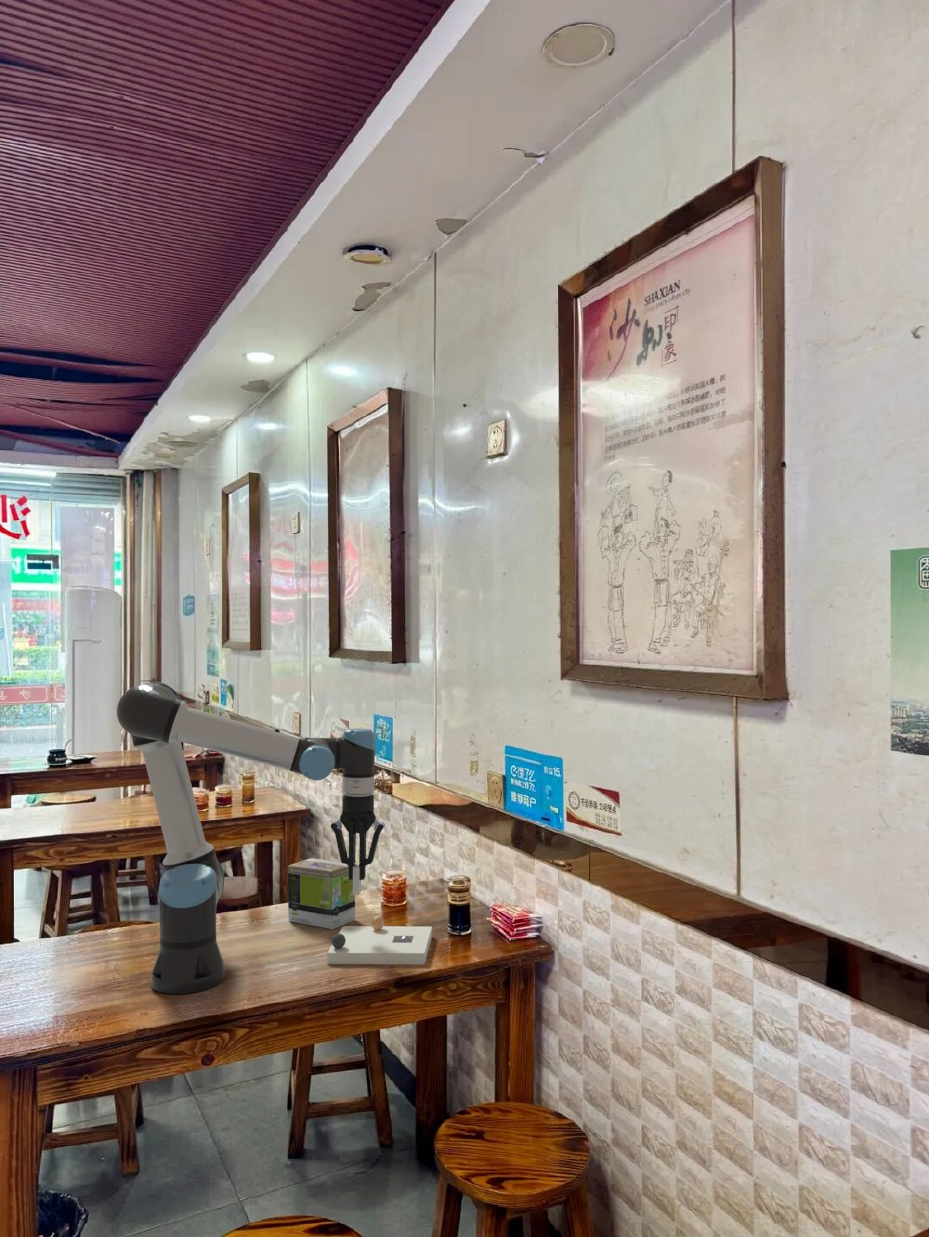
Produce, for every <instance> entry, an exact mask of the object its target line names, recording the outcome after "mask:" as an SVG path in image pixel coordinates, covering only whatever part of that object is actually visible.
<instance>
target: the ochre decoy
mask: <svg viewBox="0 0 929 1237" xmlns="http://www.w3.org/2000/svg"><path fill="white" fill-rule="evenodd" d="M384 920H385V919H384V918H383V917H382V916H380V915H379V916H378V915H377V916H373V918H372V919H371V922H370V926H372V928H373V929H375V930H380V929H382V928H383V926H385V921H384Z"/></svg>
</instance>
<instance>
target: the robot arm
mask: <svg viewBox="0 0 929 1237" xmlns="http://www.w3.org/2000/svg"><path fill="white" fill-rule="evenodd" d="M116 717H117V720H118V722H119V725H120V727H121V728H123V730H124V731H125V732H127V733H129V734H130V736H131V741H132V744H133V748H134V749H136V750H138V751H140V752H141V753H142V755H143V759H144V763H145V764H144V765H145V768H146V772H147V775H148V780H149V783H150V788H151V791H152V796H153V799H154V804H155V807H156V811H157V815H158V820H159V824H160V828H161V832H162V836H163V840H164V844H165V847H166V856H165V857H164V859H163V860H162V865H163V868H164V873H163V874H162V876H161V877H160V880H159V886H158V898H159V950H158V953H157V956H156V959H155V962H154V964H153V968H152V972H151V976H150V977H151V985H150V986H151V988H152V989H153V990H155V991H156V992H159V993H162V994H168V995H169V994H170V995H183V994H191V993H197V992H200V991H201V992H202V991H205V990H208V989H211V988H213V987H216V986H217V985H218V984H220V983H222V981H224V979H225V977H226V966H225V965H226V964H225V961H224V959H223V955H222V952H221V950H220V947H219V945H218V942H217V905H218V902H219V899H220V897H221V895H222V893H223V890H224V887H225V873H224V869H223V867H222V865H221V864H220V863H219V861H218V858H217V854H216V851H215V847H214V845H213V844H211V843H209V842H207V841H206V838H205V834H204V830H203V826H202V823H201V818H200V814H199V810H198V806H197V801H196V798H195V794H194V790H193V786H192V782H191V779H190V778H191V777H190V774H189V769H188V766H187V763H186V762H187V761H186V758H185V753H184V749H183V746H182V745H183V744H184V743H185V744H187V745H192V746H196V747H200V748H203V749H206V750H211V751H214V752H218V753H222V754H225V755H229V756H233V757H237V758H240V759H244V760H246V761H251V762H256V763H258V764H263V765H267V766H270V767H274V768H277V769H281V770H285V771H288V772H292V773H293V774H294V773H295V774H298V775H302V776H304V777H305V778H306V779H309V780H311V781H322V780H324V779H326V778H327V777H329V776H330V775H331V773H332V772H333V770H342V793H343V794H342V799H341V800H342V804H341V806H342V808H341V811H342V812H341V814H340V816H339V819H338V820H335V821H333V822H332V823H330V829H331V830H332V831H333V833H334V836H335V840H336V846H337V851H338V855H339V859H340V862H341V863H343V864H347V865H348V866H349V880H353V895H355V896H360V894H361V892H362V881H364V880H365V878H366V871H367V870H366V869H367V868H366V867H367V865H371V864H372V863H373V861H374V860H375V855H376V851H377V847H378V843H379V839H380V836H381V832H382V831H383V829H384V828H385V826H386V824H385V823H384V822H381V821H379V820H378V819H377V816H376V815H375V812H374V811H375V795H374V794H373V793H374V792H375V760H376V759H375V754H376V748H375V745H376V744H375V732H374V731H373V730H372V729H370V728H346V729H344V731H343V735H342V736H340V737H296V736H293V735H288V734H286V733H282V732H278V731H275V730H271V729H268V728H264V727H262V726H261V727H260V726H258V725H257V726H256V725H253V724H250V723H247V722H243V721H239V720H235V719H231V718H228V717H225V716H221V715H217V714H214V713H210V712H207V711H203V710H200V709H197V708H192V707H189V706H188V704H187V702H186V701H185V700H183V699H181V697H180V696H179V694H178V693H177V691H176V690H175V689H174V688H172V687H171V686H170V685H168V684H166V683H163V682H160V681H159V682H158V681H152V682H151V681H149V682H145V683H141V684H138V685H135V686H132V687H131V688H129V689H127V690H126V691H125V692H124V693H123V694H122V695H121V697H120V699H119V701H118V702H117V706H116ZM182 743H183V744H182ZM372 826H373V831H374V832H373V835H372V838H371V843H370V847H369V851H368V854H367V834H368V831H369V830H370V829H371V827H372ZM343 827H344V829H346V831H347V832H348V851H347V848H346V842H345V839H344V838H345V837H344V832H343V830H342V828H343ZM357 834H358V838H359V843H358V844H359V846H358V848H359V850H358V852H359V853H358V854H359V856H358V858H359V859H358V860H359V863H358V864H356V862H357V860H356V852H357V851H356V848H357V847H356V845H357V844H356V843H357Z"/></svg>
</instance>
